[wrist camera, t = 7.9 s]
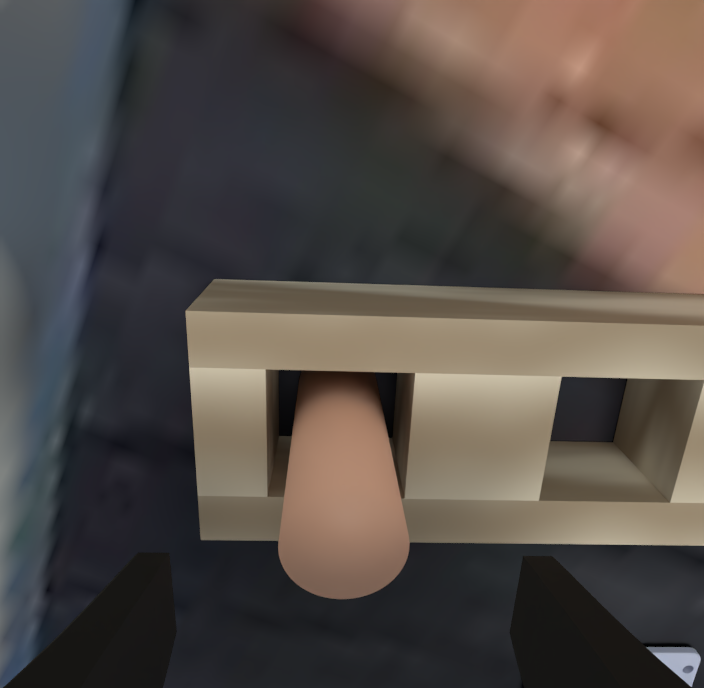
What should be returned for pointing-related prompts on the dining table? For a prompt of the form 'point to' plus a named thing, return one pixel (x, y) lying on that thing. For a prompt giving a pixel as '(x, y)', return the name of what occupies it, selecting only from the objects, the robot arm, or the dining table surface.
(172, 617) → the robot arm
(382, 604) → the dining table surface
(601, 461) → the hole block
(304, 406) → the peg
